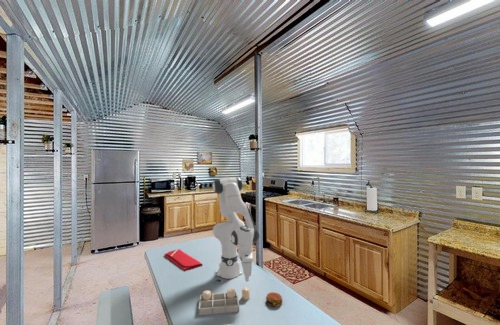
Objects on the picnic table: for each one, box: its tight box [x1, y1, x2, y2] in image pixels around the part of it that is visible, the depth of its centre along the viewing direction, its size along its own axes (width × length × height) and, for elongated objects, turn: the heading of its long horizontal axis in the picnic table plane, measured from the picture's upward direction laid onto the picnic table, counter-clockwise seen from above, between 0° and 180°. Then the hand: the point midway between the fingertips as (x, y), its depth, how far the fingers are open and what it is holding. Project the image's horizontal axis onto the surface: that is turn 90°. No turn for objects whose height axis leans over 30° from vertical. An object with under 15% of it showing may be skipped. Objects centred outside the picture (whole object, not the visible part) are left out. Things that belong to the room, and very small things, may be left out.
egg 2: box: [226, 288, 236, 299], centre depth 140 cm, size 5×5×6 cm
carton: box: [198, 291, 240, 316], centre depth 136 cm, size 15×22×4 cm
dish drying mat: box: [164, 248, 203, 272], centre depth 202 cm, size 16×41×4 cm, turn 42°
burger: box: [265, 292, 283, 308], centre depth 140 cm, size 10×9×5 cm
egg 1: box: [202, 290, 212, 301], centre depth 139 cm, size 5×5×6 cm
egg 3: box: [241, 286, 251, 301], centre depth 143 cm, size 5×5×6 cm
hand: (245, 277), depth 143 cm, fingers open, 8 cm apart
